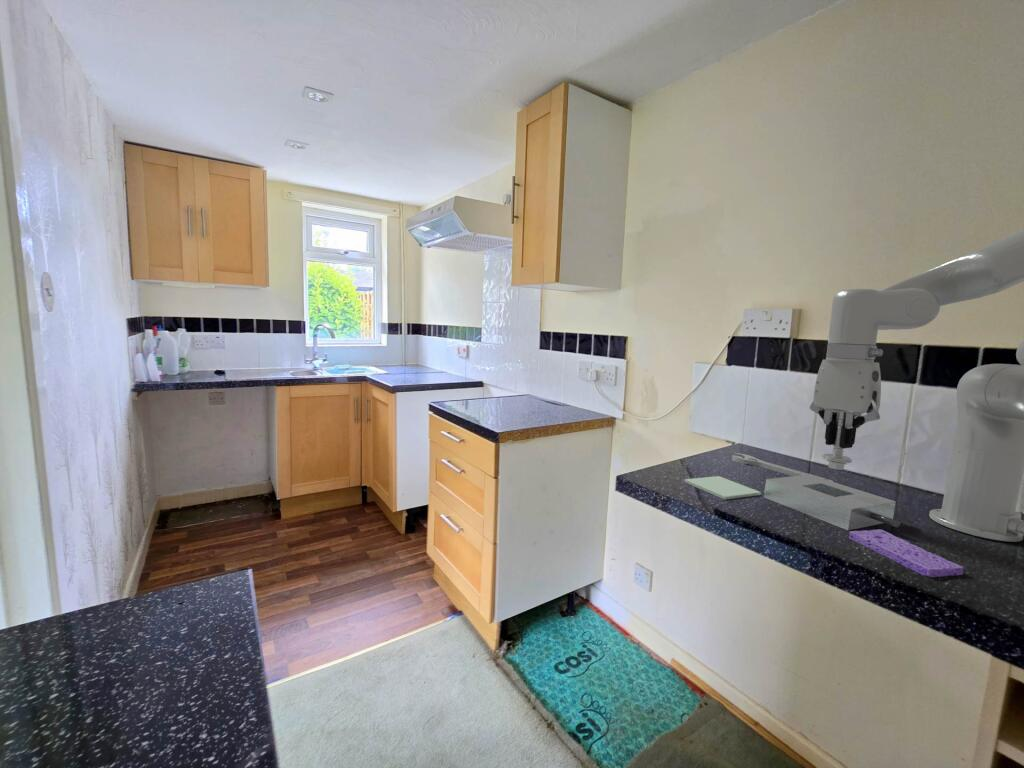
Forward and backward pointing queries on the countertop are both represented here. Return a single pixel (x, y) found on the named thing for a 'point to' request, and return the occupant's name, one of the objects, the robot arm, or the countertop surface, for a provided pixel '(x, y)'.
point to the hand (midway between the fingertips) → (838, 445)
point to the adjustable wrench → (767, 465)
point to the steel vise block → (831, 501)
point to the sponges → (906, 553)
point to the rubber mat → (722, 487)
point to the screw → (837, 457)
